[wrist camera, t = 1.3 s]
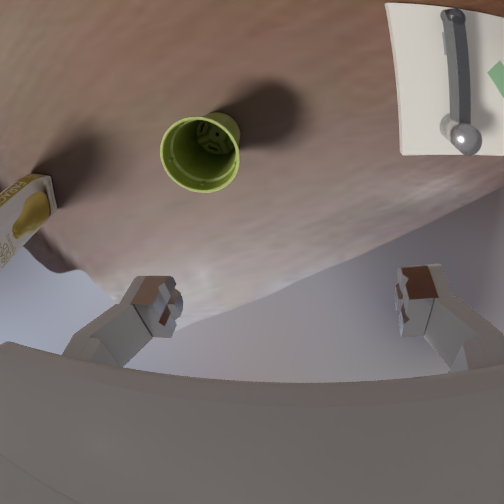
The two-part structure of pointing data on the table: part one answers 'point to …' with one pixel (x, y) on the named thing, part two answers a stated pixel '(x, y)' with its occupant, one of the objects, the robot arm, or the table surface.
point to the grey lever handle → (458, 86)
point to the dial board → (445, 78)
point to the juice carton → (24, 212)
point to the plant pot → (202, 152)
